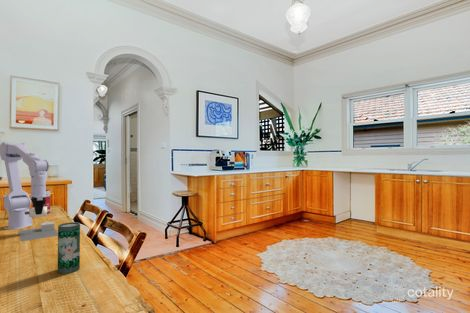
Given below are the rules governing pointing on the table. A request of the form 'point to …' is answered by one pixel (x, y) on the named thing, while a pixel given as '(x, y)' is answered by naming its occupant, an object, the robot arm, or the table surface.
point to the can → (68, 247)
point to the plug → (33, 214)
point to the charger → (47, 226)
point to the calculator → (47, 200)
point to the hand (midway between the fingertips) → (38, 213)
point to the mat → (36, 234)
